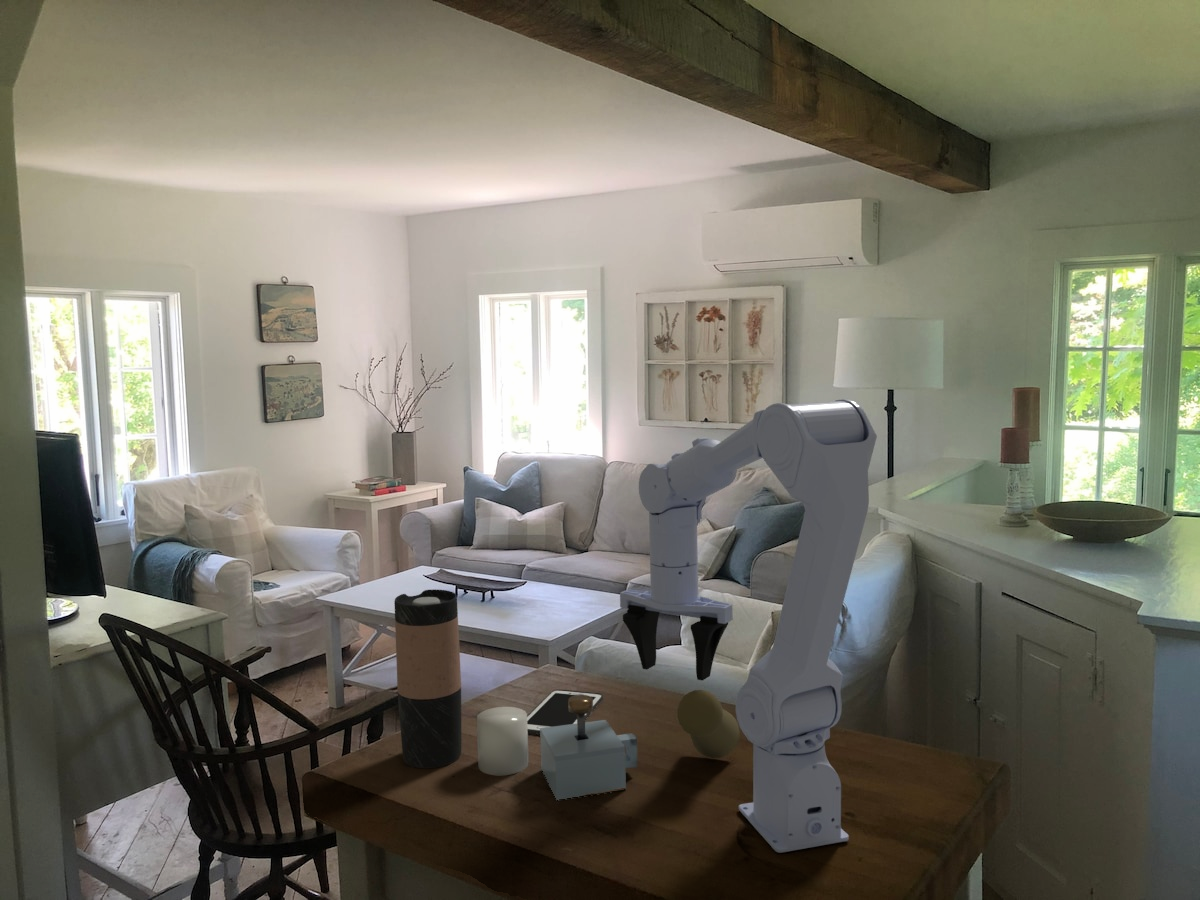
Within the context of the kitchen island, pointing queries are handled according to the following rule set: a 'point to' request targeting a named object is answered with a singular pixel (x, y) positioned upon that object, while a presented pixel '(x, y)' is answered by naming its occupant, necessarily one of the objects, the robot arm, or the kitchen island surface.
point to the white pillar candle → (502, 740)
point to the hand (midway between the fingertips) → (675, 672)
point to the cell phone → (556, 710)
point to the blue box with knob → (586, 759)
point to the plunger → (580, 711)
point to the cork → (708, 724)
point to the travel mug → (428, 677)
